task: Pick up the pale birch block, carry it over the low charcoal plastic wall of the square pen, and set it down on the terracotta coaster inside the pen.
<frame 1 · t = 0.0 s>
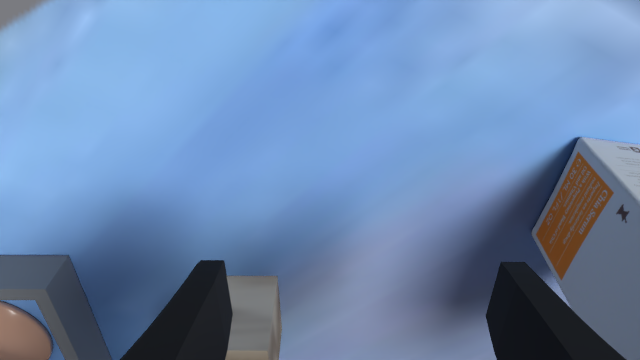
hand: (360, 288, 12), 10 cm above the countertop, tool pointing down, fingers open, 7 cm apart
birch block: (242, 302, 27), on the countertop
skincare box: (588, 190, 23), on the countertop
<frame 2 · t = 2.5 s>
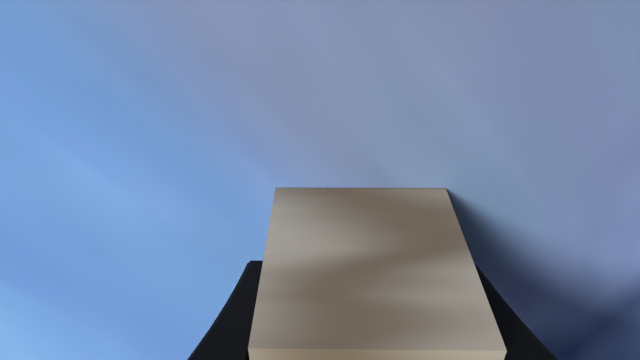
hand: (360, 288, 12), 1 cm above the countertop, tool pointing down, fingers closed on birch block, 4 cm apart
birch block: (357, 251, 13), on the countertop, touching gripper
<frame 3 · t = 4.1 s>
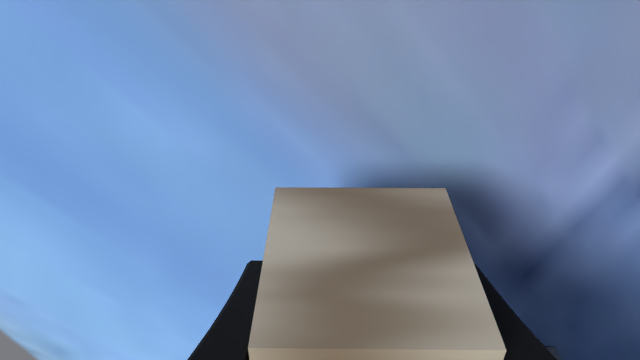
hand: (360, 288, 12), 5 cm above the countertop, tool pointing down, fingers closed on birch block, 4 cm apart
birch block: (357, 251, 13), point 4 cm above the countertop, touching gripper
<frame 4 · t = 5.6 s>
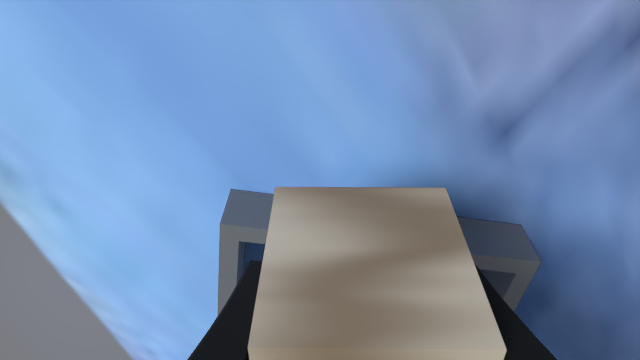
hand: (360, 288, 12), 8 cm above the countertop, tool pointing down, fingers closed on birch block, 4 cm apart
birch block: (357, 251, 13), point 7 cm above the countertop, touching gripper
low pen: (352, 307, 25), on the countertop
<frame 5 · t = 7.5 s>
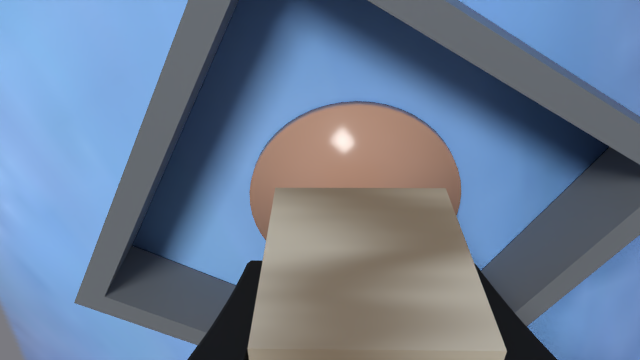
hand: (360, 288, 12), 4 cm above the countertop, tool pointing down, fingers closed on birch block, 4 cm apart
birch block: (357, 251, 13), point 3 cm above the countertop, touching gripper
coaster: (353, 196, 16), resting in low pen
low pen: (353, 196, 16), on the countertop
when the fingers open (3 cm above the countertop, at t = 9.0 s): birch block stays where it is, resting on coaster.
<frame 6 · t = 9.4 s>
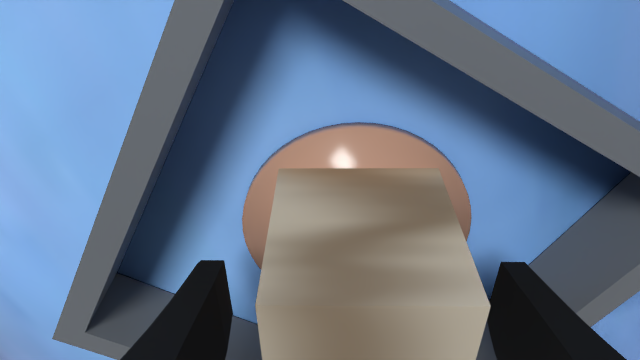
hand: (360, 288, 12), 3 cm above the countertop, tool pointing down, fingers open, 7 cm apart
birch block: (355, 230, 14), resting on coaster
coaster: (355, 222, 15), resting in low pen
low pen: (355, 222, 15), on the countertop
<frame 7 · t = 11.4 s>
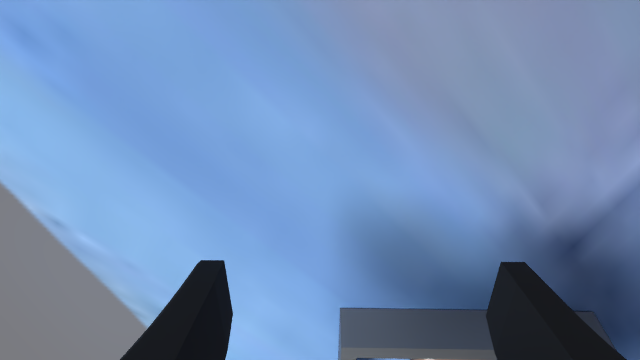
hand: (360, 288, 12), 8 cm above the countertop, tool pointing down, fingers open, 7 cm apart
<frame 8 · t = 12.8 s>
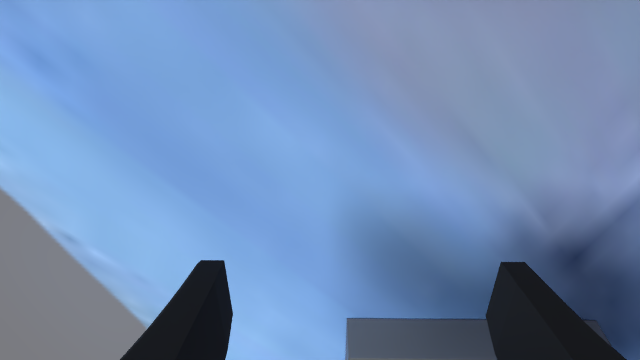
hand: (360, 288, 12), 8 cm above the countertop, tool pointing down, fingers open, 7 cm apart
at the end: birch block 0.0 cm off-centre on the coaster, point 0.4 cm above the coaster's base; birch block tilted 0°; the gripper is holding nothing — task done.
